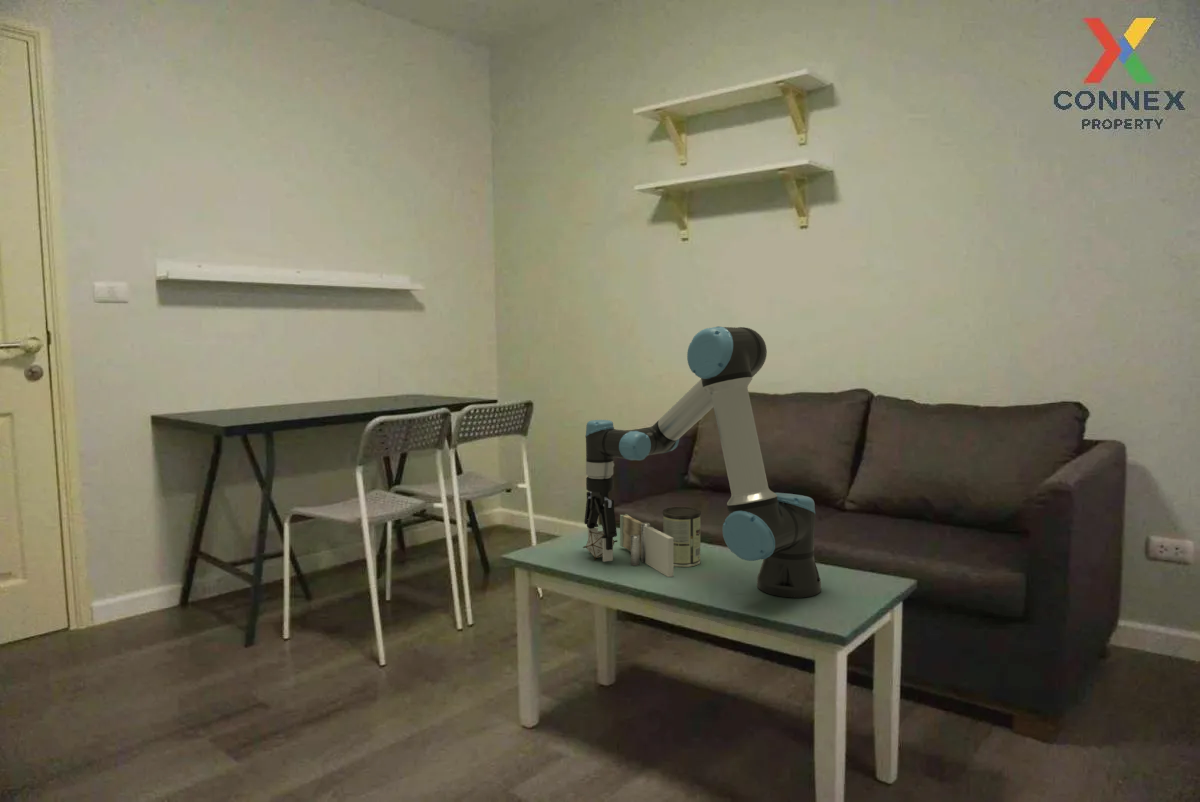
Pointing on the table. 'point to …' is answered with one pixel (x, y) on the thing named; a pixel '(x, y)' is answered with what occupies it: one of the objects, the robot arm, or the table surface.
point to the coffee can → (683, 534)
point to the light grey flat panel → (659, 551)
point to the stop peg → (635, 550)
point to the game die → (596, 544)
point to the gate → (629, 530)
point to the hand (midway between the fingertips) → (600, 555)
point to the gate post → (643, 540)
